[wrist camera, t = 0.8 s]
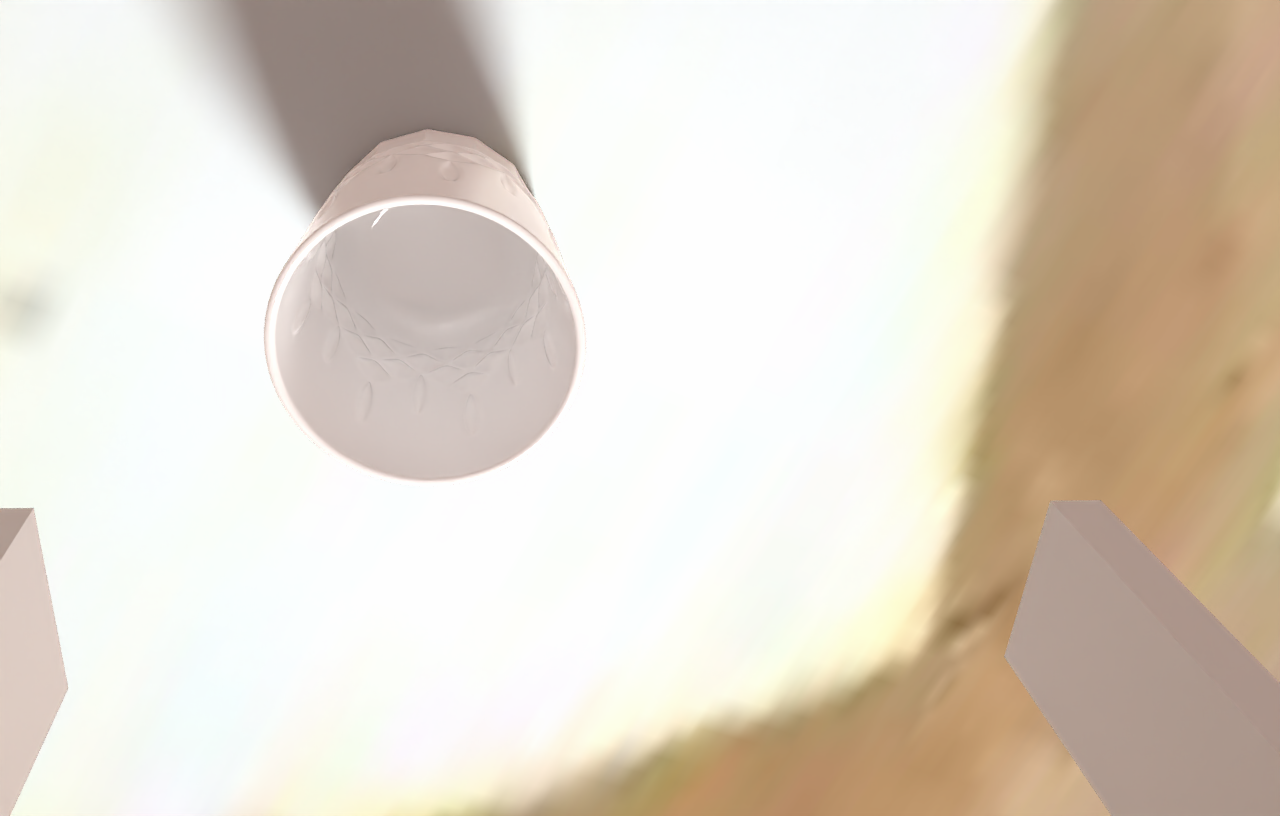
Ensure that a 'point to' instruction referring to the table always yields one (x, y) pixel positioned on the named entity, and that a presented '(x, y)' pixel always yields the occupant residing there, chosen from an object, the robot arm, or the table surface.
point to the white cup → (427, 317)
